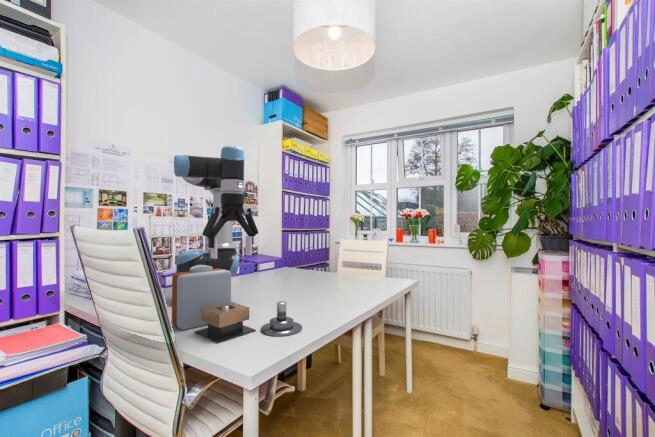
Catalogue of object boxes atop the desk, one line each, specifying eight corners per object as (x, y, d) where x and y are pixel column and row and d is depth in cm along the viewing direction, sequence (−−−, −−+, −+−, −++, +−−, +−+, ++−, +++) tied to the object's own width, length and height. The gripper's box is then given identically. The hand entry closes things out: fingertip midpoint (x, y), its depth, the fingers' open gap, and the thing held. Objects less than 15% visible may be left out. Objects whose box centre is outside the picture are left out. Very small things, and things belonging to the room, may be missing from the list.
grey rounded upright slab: (221, 314, 123) (221, 262, 123) (231, 319, 117) (232, 264, 117) (171, 325, 110) (171, 267, 110) (180, 331, 104) (180, 269, 104)
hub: (252, 329, 106) (252, 303, 106) (283, 319, 116) (283, 295, 117) (279, 339, 97) (279, 310, 97) (310, 328, 108) (310, 301, 108)
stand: (194, 332, 103) (194, 306, 103) (231, 322, 113) (231, 298, 114) (217, 343, 94) (217, 315, 94) (255, 331, 104) (255, 305, 105)
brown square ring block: (201, 320, 103) (201, 308, 103) (230, 312, 111) (230, 301, 111) (219, 327, 96) (219, 314, 96) (249, 319, 104) (249, 307, 104)
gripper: (204, 189, 93) (203, 261, 93) (268, 195, 113) (268, 254, 113) (191, 191, 98) (190, 259, 98) (255, 196, 117) (254, 252, 117)
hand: (232, 256), depth 105 cm, fingers open, 13 cm apart
